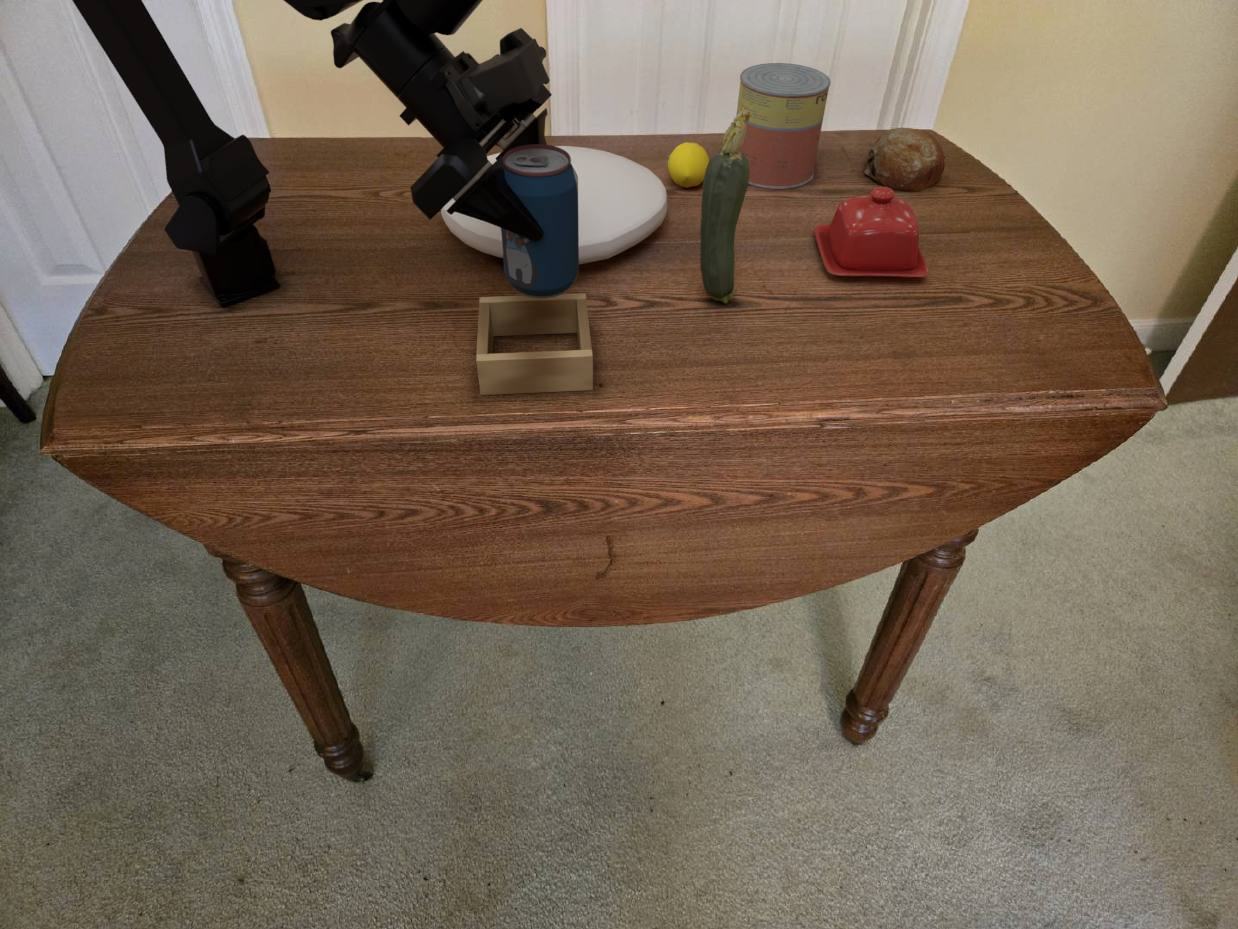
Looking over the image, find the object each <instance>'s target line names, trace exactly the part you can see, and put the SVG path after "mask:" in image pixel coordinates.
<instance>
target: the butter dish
mask: <svg viewBox="0 0 1238 929" xmlns="http://www.w3.org/2000/svg"><path fill="white" fill-rule="evenodd" d="M895 193H896V192H895V190H894V189H890V188H888V187H885V186H877V187H875V188H873V189H872V190H871V191H870V195H862V196H854V197H850V198H847V199H845V200H843V201H841V202H839V204H838V206H837V208H836V210H835V212H834V215H833V217H832V220H831V223H827V224H826V223H825V224H818V225H816V226H814V228H813V231H814V236H815V239H816V242H817V246H818V249H819V253H820V257H821V259H822V262H823V265H824V267H825V269H826V271H827V272H828V273H829V274H830V275H832V276H836V277H884V278H887V277H888V278H890V277H892V278H925V277H927V276H928V275H929V269H928V268H929V267H928V265H927V263H926V259H925V257H924V255H923V252H922V251H921V248H920V245H919V244H920V243H919V242H920V228H919V224H918V220H917V217H916V215H915V213H914V210H913V208H912V207H911V206H910V205H909V204H908V203H907V202H906V201H905V200H903V199H901V198H898V197H895V196H896V195H895Z"/></svg>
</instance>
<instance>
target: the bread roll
mask: <svg viewBox="0 0 1238 929" xmlns="http://www.w3.org/2000/svg"><path fill="white" fill-rule="evenodd" d="M945 159H946V156H945V154H944V151H943V149H942V146H941V144H940V142H939V141H938V139H937V138H936V137H935V136H934V135H933V134H931V133H929V132H927V131H926V130H924V129H919V128H913V127H902V126H901V127H896V128H890V129H888V130H887V131H885V132H883V133H882V134H880V135H879V137H878V138H877V139H876V140H875V141H874V143H873V144H872V145H871V147H870V149H869V151H868V153H867V158H866V163H865V166H866V168H865V170H864V175H866V176H868V177H869V178H870V179H872V180H874V182H876V183H879V184H881V185H883V187H888V188H890V189H892V190H893V191H905V192H918V191H921V190H924V189H927V188H930V187H932V186H934V185H935V184H936V183H937V182H938V181H939V180H940V179H941V177H942V174H943V172H944V170H945Z"/></svg>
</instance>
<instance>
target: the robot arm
mask: <svg viewBox="0 0 1238 929" xmlns="http://www.w3.org/2000/svg"><path fill="white" fill-rule="evenodd" d="M71 1H72V2H73V4H74V5H75V7H76V9H77V10H78V12H79V13H80V15H81V17H82V18H83V20H84V22H85V23H86V24H87V26H88V28H89V29H90V31H91V33H92V34H93V35H94V37H95V39H96V41H97V42H98V44H99V46H100V47H101V49H102V50H103V51H104V53H105V55H106V56H107V58H108V59H109V61H110V62H111V64H112V66H113V67H114V69H115V70H116V72H117V74H118V75H119V77H120V79H121V80H122V82H123V83H124V85H125V86H126V88H127V89H128V90H127V91H129V93H130V94H131V96H132V98H133V99H134V100H135V103H136V104H137V106H138V107H139V109H140V110H141V111H142V113H143V115H144V117H145V118H146V120H147V121H148V123H149V125H150V126H151V128H152V129H153V131H154V132H155V134H156V136H157V137H158V139H159V141H160V142H161V144H162V146H163V152H164V165H165V174H166V181H167V184H168V186H169V188H170V190H171V192H172V194H173V197H174V198H175V200H176V202H177V204H178V207H177V209H176V211H175V212H174V213H173V215H172V216H171V218H170V219H169V221H168V222H167V224H166V225H165V226H164V232H165V234H166V235H167V236H168V238H169V239H170V241H171V242H172V244H173V246H174V247H175V248H176V249H177V250H184V251H190V252H192V255H193V257H194V260H195V263H196V265H197V268H198V270H199V272H200V277H198V280H199V283H200V284H201V286H202V287H203V288H204V289H205V290H206V292H208V293H209V295H210V297H212V298H213V299H214V300H215V302H216V303H217V304H218V305H219V306H220V307H227V306H229V305H232V304H236V303H237V302H241V301H245V300H246V299H250V298H252V297H255V296H257V295H261V294H264V293H266V292H269V291H272V290H275V289H278V288H279V287H281V284H280V281H279V280H278V278H276V276H274V275H276V273H277V269H276V266H275V263H274V260H273V257H272V253H271V249H270V246H269V244H268V241H267V239H266V238H265V237H264V236H262V234H261V233H260V232H259V229H258V228H257V227H256V225H255V224H256V223H257V222H258V221H259V220H263V219H264V218H265V217H266V205H267V204H268V202H269V198H270V194H271V192H272V190H271V188H272V187H271V184H270V181H269V179H268V177H267V175H269V174H270V170H269V169H267V167H266V166H265V165H264V164H263V163H262V161H261V160H260V158H259V156H258V155H257V153H256V151H255V148H254V146H253V144H252V142H251V140H250V139H249V138H248V137H247V136H246V135H245V134H241V135H238V136H237V137H233V136H232V135H231V134H229V133H227V132H226V131H225V130H224V129H222V128H220V127H219V126H218V125H216V123H215V122H214V121H213V120H212V118H211V117H210V114H209V113H208V112H207V109H206V107H205V106H204V105H203V103H202V100H201V99H200V98H199V96H198V94H197V92H196V91H195V89H194V88H193V85H192V84H191V83H190V81H189V79H188V77H187V76H186V74H185V72H184V70H183V69H182V67H181V65H180V63H179V62H178V60H177V58H176V57H175V54H174V53H173V51H172V50H171V47H170V46H169V45H168V43H167V41H166V39H165V37H164V36H163V34H162V33H161V31H160V29H159V28H158V26H157V24H156V22H155V20H154V19H153V17H152V16H151V14H150V12H149V10H148V9H147V7H146V5H145V3H144V2H143V0H71ZM282 1H283V2H285V3H286V4H287V5H288V6H290V7H291V8H292V9H293V10H295V11H296V12H298V14H300V15H302V16H304V17H305V18H308V19H310V20H312V21H320V22H321V21H323V20H328V19H330V18H333V17H335V16H337V15H339V14H341V13H343V12H344V11H347V10H348V9H351V8H352V7H354V6H355V5H357V4H359V3H361V2H363V1H364V0H282ZM483 1H484V0H382V1H369V2H366V3H365V4H364V5H363V6H362V7H361V9H360V10H359V11H358V13H357V14H356V16H355V17H354V18H353V20H352V21H351V22H350V23H347V22H343V23H341V24H340V25H338V26H336V27H334V28H333V29H331V30H330V36H331V38H332V44H333V45H332V46H333V50H332V56H333V64H334V66H335V68H337V69H342V68H344V67H345V66H347V65H349V64H351V63H352V62H354V61H355V60H357V59H358V58H359V59H360V60H361V61H362V62H363V63H364V64H365V65H366V66H367V67H368V68H369V69H370V70H371V72H372V73H373V74H374V76H376V77H377V78H378V79H379V81H380V82H381V83H383V85H384V86H385V87H386V88H387V89H388V90H389V91H390V92H391V93H392V94H393V95H394V96H395V98H397V99H398V101H399V102H400V103H401V104H402V105H403V106H404V107H405V109H404V110H403V111H402V112H401V113H400V114H399V118H400V119H401V120H402V121H403V122H404V123H405V124H406V125H407V126H408V127H409V126H410V125H411V124H413V123H414V122H415V121H418V122H419V123H420V125H421V126H422V127H423V128H425V130H426V131H427V132H428V133H429V134H430V135H431V137H433V139H435V141H436V142H437V143H438V144H439V145H440V146H441V147H442V149H440V151H439V152H438V153H437V154H436V157H437V159H436V160H434V161H433V163H431V165H430V166H429V167H428V168H427V169H426V170H425V171H423V173H422V174H421V175H420V176H419V178H418V179H416V181H414V182H413V184H412V185H411V186H410V194H411V200H412V203H413V205H414V206H416V207H417V208H418V210H419V211H421V213H422V214H423V215H424V216H425V217H426V218H427V219H428V220H429V221H432V219H433V218H434V217H435V216H436V215H437V214H438V213H439V212H441V209H442V208H443V207H444V206H445V205H446V204H447V203H448V202H449V201H450V200H451V199H452V198H453V199H454V200H455V202H454V203H453V204H452V205H451V206H450V207H449V208H448V209H447V212H448V213H449V214H451V215H452V214H453V213H454V212H457V213H460V214H463V215H466V216H469V217H472V218H475V219H478V220H482V221H484V222H487V223H490V224H493V225H495V226H498V227H500V228H503V229H505V230H508V231H510V232H512V233H515V234H517V235H520V236H522V237H525V238H527V239H530V240H532V241H535V242H537V241H539V240H540V239H541V238H542V237H543V236H544V231H543V230H542V228H541V227H540V226H539V224H538V223H537V221H536V220H535V218H534V217H533V216H532V214H531V213H530V212H529V211H528V209H527V208H526V207H525V205H524V204H523V203H522V202H521V200H520V199H519V198H518V196H517V195H516V194H515V193H514V191H513V190H512V189H511V187H510V186H509V185H508V184H507V182H506V179H505V171H504V162H503V156H504V154H505V153H506V152H508V151H509V150H511V149H513V148H516V147H519V146H523V145H531V144H545V145H548V143H547V140H546V136H545V133H546V119H547V116H548V114H549V112H548V108H547V107H545V108H544V109H543V110H542V111H541V112H540V113H539V114H538V115H537V116H536V115H535V114H534V113H535V112H537V110H539V109H540V108H541V107H542V106H543V105H544V104H545V103H546V102H547V101H548V100H549V98H551V97H552V95H553V94H552V93H551V91H550V90H549V89H548V88H547V87H546V85H548V84H549V83H550V81H551V80H550V78H549V75H548V72H547V70H546V67H545V66H544V63H543V62H544V59H546V57H547V51H546V49H545V48H544V47H543V46H540V45H539V43H538V42H537V39H536V38H533V37H531V35H529V33H527V32H526V31H525V30H524V29H523V28H522V27H519V28H518V29H515V30H513V31H511V32H508V33H506V35H504V36H503V37H502V38H500V39H499V53H497V54H494V55H493V56H492V57H491V58H489V59H487V60H485V61H483V62H480V63H479V62H478V61H477V60H476V59H475V58H474V57H473V55H471V53H469V52H465V51H464V50H463V51H461V52H460V53H458V54H457V55H456V56H455V55H454V54H453V53H452V51H450V49H449V48H448V47H447V46H446V45H445V43H444V42H442V40H441V39H440V37H438V36H437V35H436V34H440V35H441V36H442V35H443V36H452V35H455V34H456V33H457V32H458V31H459V29H460V28H461V27H462V26H463V25H464V24H465V22H466V21H467V20H468V19H469V17H471V15H472V14H473V13H474V12H475V10H476V9H477V8H478V7H479V5H480V4H481V3H482V2H483ZM495 146H496V147H499V148H500V149H501V150H502V151H501V152H499V153H500V154H499V155H498V156H497V157H496V158H495V159H496V160H497V161H496V162H495V163H494V164H493V165H492V163H491V162H490V161H489V160H488V159H487V156H488V155H487V154H488V153H489V152H490V151H491V150H492V149H493V148H494V147H495Z"/></svg>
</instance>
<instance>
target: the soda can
mask: <svg viewBox="0 0 1238 929" xmlns="http://www.w3.org/2000/svg"><path fill="white" fill-rule="evenodd" d="M556 146H557V145H551V144H547V145H545V144H531V145H523V146H519V147H516V148H513V149H511V150H509V151H508V152H506V153H505V154H504V156H503V162H504V171H505V179H506V182H507V184H508V185H509V186H510V187H511V189H512V190H513V191H514V193H515V194H516V195H517V196H518V198H519V199H520V200H521V202H522V203H523V204H524V205H525V207H526V208H527V209H528V211H529V212H530V213H531V214H532V216H533V217H534V218H535V220H536V221H537V223H538V224H539V226H540V227H541V228H542V230H543V231H544V236H543V237H542V238H541V239H540V240H539V241H537V242H535V241H532V240H530V239H527V238H525V237H522V236H520V235H517V234H515V233H512V232H510V231H508V230H505V229H503V228H501V237H502V249H503V258H502V260H503V261H502V262H503V273H504V276H505V278H506V279H507V281H508V282H509V284H510V285H511V287H512V288H513V289H514V290H515V291H516V292H517V293H519V294H520V295H521V296H527V297H531V298H552V297H556V296H559V295H561V294H566V293H567V291H569V289H570V288H571V287H572V285H573V284H574V283H575V281H576V279H577V277H578V276H579V272H580V264H579V235H578V176H577V174H576V172H575V170H574V168H573V166H572V164H571V157H570V155H569V154H568V153H567V152H566V151H565V150H563V149H561V148H558V147H556Z"/></svg>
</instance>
